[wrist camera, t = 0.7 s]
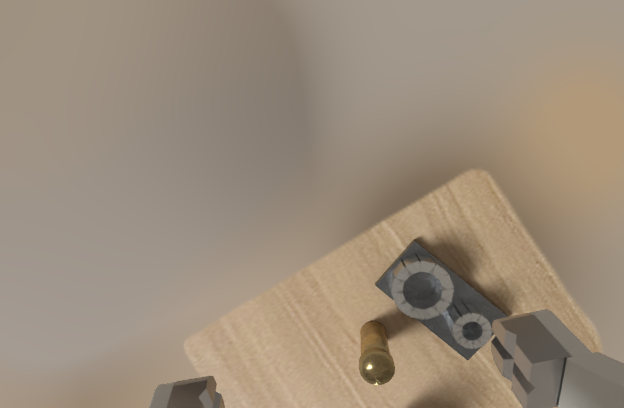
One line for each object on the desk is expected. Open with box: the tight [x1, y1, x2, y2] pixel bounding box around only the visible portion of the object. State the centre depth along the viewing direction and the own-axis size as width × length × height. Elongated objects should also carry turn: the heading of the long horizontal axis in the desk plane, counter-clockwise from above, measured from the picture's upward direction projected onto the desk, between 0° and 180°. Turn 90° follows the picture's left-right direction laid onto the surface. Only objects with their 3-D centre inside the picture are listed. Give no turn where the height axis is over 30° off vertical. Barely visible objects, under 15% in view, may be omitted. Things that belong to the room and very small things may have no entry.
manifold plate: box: [375, 240, 508, 360], centre depth 55 cm, size 18×9×4 cm, turn 51°
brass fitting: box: [359, 321, 395, 385], centre depth 54 cm, size 5×5×10 cm
